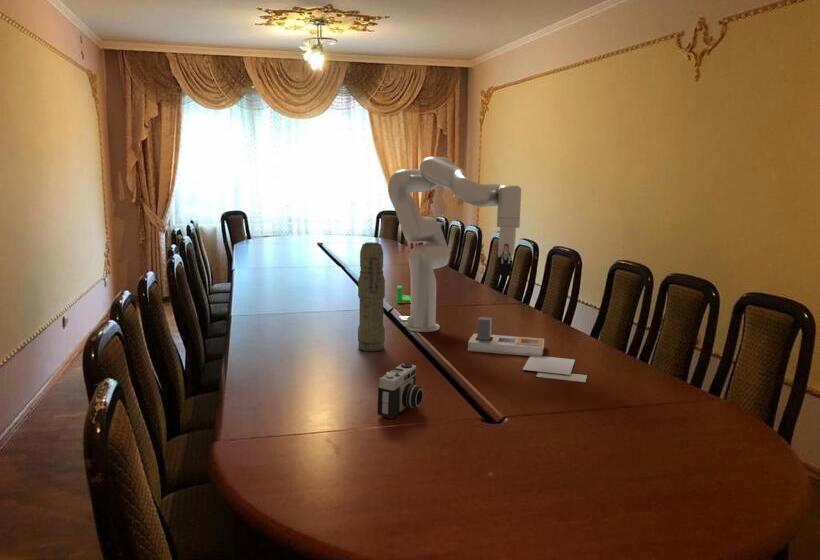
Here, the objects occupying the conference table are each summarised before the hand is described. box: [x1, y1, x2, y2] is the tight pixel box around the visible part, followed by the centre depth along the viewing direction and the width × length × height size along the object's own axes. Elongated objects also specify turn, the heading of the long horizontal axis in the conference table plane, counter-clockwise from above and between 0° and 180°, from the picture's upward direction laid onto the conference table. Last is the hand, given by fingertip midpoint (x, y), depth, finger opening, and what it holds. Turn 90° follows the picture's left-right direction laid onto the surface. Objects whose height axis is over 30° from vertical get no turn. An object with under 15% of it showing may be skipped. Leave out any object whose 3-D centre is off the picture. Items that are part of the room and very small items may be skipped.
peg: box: [477, 316, 493, 341], centre depth 215 cm, size 4×4×10 cm
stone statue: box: [357, 242, 386, 352], centre depth 211 cm, size 9×12×35 cm
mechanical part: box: [395, 285, 411, 303], centre depth 290 cm, size 12×6×8 cm, turn 3°
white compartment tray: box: [467, 333, 545, 357], centre depth 214 cm, size 24×12×3 cm, turn 75°
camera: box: [377, 363, 424, 419], centre depth 158 cm, size 14×9×10 cm, turn 148°
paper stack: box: [522, 355, 588, 383], centre depth 191 cm, size 23×25×1 cm
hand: (506, 273), depth 216 cm, fingers open, 9 cm apart
